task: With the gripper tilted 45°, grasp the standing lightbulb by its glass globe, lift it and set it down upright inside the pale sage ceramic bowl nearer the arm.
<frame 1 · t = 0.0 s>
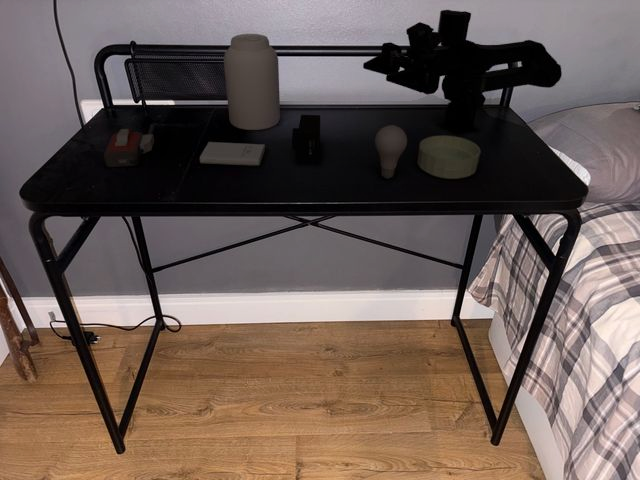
hand: (374, 71, 104), 17 cm above the table, tool horizontal, fingers open, 9 cm apart
wide mouth jar: (255, 122, 125), on the table
bowl: (446, 167, 105), on the table
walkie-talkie: (133, 149, 111), on the table
lightbulb: (387, 179, 101), on the table
hard drive: (233, 157, 108), on the table
digital camera: (306, 154, 110), on the table
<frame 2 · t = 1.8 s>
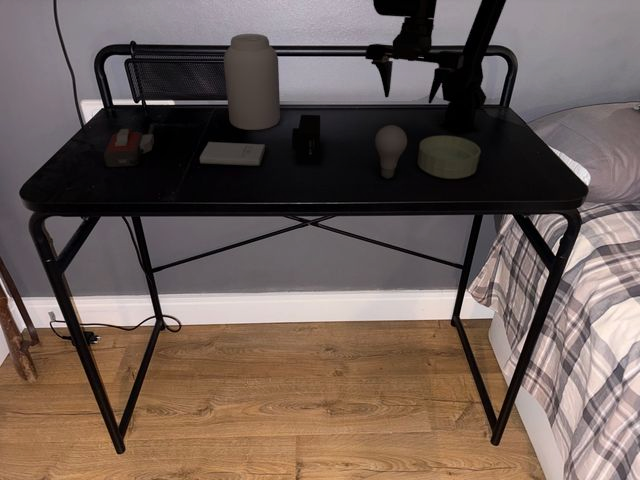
hand: (407, 100, 104), 12 cm above the table, tool pointing down, fingers open, 9 cm apart
nothing on the table moved.
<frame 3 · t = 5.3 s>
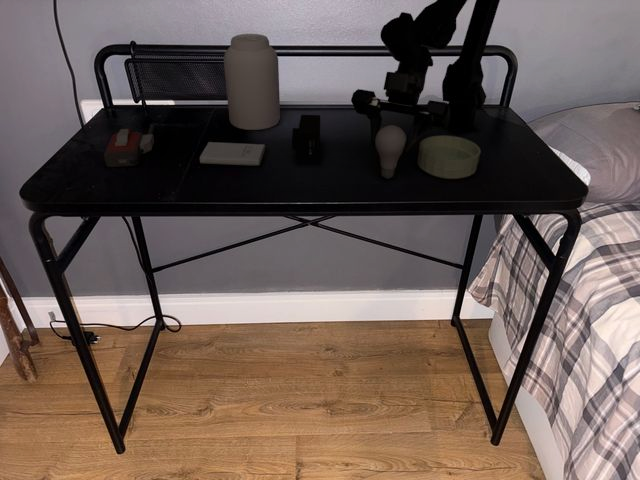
hand: (388, 149, 96), 7 cm above the table, tool tilted 45°, fingers closed on lightbulb, 6 cm apart
lightbulb: (387, 179, 101), on the table, touching gripper
everything else where it was.
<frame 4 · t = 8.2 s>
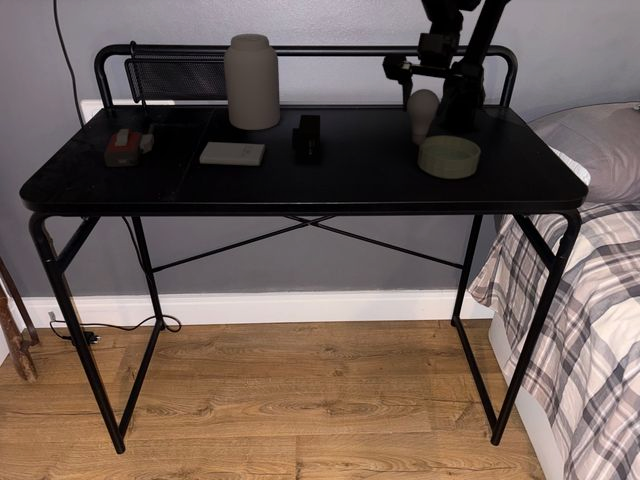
hand: (420, 113, 95), 13 cm above the table, tool tilted 45°, fingers closed on lightbulb, 6 cm apart
lightbulb: (418, 145, 100), point 6 cm above the table, touching gripper
everything else where it was.
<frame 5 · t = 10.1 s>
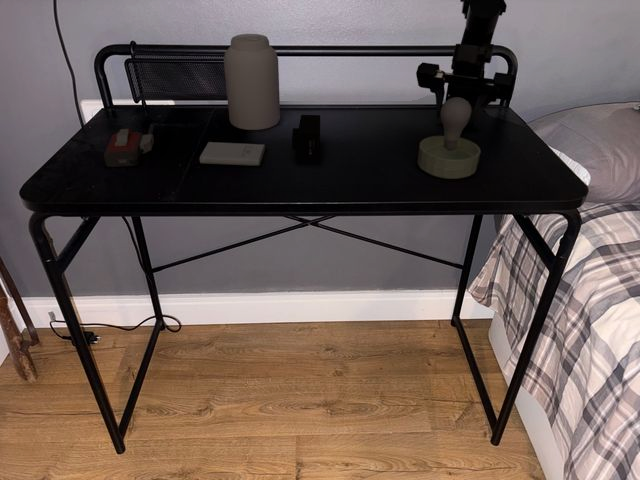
hand: (453, 120, 98), 11 cm above the table, tool tilted 45°, fingers closed on lightbulb, 6 cm apart
lightbulb: (449, 151, 103), point 4 cm above the table, touching gripper
everything else where it was.
when the fingers open (7 cm above the table, at t = 11.5 s): lightbulb stays where it is, resting on bowl.
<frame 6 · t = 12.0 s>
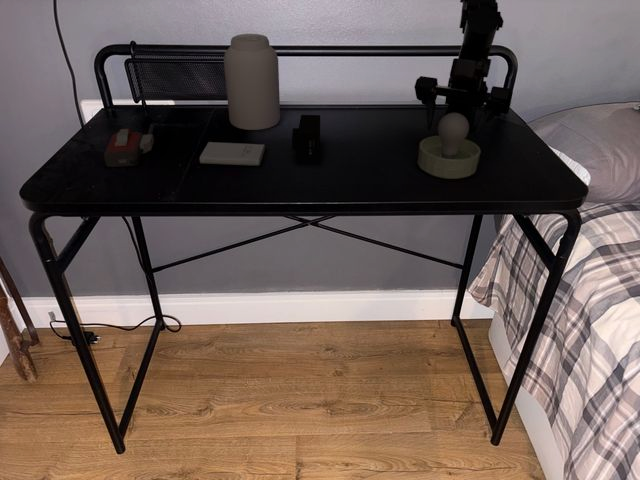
hand: (451, 133, 100), 8 cm above the table, tool tilted 45°, fingers open, 9 cm apart
lightbulb: (446, 165, 105), resting on bowl
everything else where it was.
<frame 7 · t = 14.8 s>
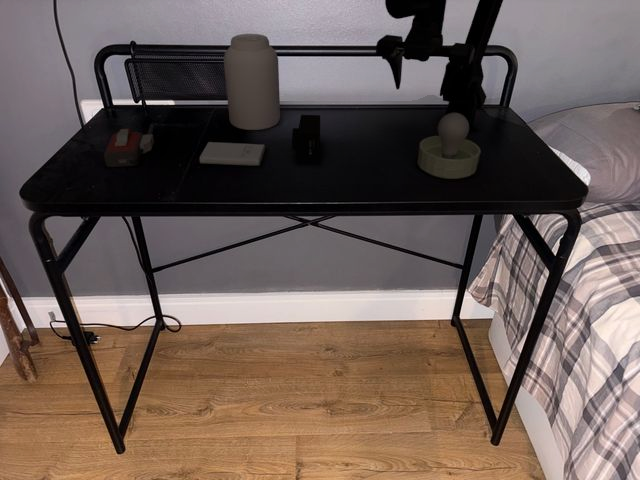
hand: (419, 92, 105), 13 cm above the table, tool pointing down, fingers open, 9 cm apart
nothing on the table moved.
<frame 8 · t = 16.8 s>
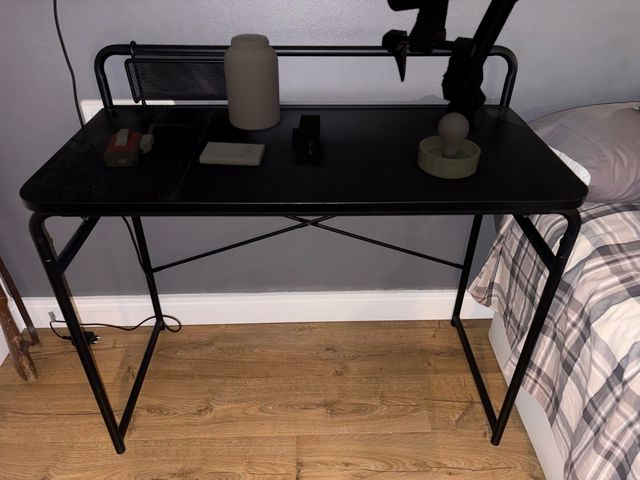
hand: (423, 84, 109), 13 cm above the table, tool pointing down, fingers open, 9 cm apart
nothing on the table moved.
at the end: lightbulb inside the target area in the bowl (0.2 cm from its centre), point 0.4 cm above the bowl's base; lightbulb tilted 0°; the gripper is holding nothing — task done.
